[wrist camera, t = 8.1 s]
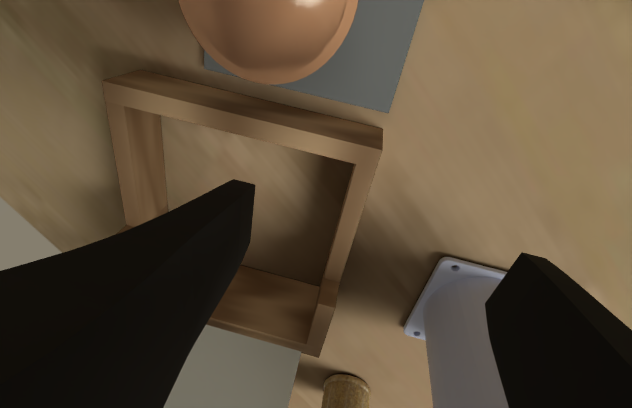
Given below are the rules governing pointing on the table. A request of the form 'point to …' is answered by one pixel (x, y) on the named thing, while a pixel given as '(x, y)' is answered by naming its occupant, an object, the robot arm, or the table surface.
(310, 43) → the pot
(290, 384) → the lid
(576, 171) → the table surface
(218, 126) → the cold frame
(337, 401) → the sprinkles bottle
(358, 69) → the mat
